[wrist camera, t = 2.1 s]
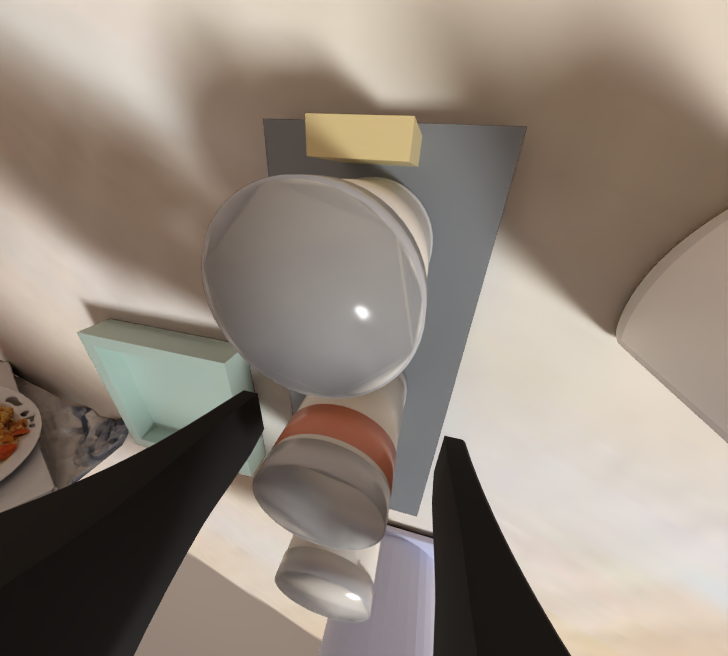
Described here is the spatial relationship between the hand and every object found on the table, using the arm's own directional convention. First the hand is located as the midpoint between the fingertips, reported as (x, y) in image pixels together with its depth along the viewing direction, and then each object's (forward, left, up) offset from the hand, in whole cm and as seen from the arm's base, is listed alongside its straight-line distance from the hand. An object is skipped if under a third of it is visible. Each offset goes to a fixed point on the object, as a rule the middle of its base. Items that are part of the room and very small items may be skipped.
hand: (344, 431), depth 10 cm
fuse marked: (0, 0, -3) cm, 3 cm away
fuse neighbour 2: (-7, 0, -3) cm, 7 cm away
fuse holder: (0, 0, -4) cm, 4 cm away
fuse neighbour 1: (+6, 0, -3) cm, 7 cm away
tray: (-5, +12, -4) cm, 14 cm away
